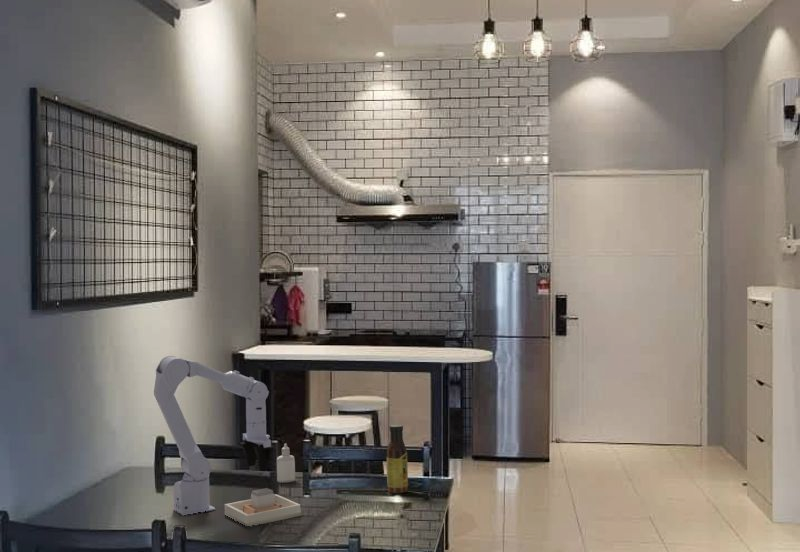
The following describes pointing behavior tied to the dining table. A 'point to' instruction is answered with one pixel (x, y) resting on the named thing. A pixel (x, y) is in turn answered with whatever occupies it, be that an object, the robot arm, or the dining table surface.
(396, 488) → the sauce bottle
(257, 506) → the grey plug
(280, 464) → the eye dropper bottle
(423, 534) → the dining table surface
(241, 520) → the walled box
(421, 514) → the dining table surface
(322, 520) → the dining table surface
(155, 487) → the dining table surface
